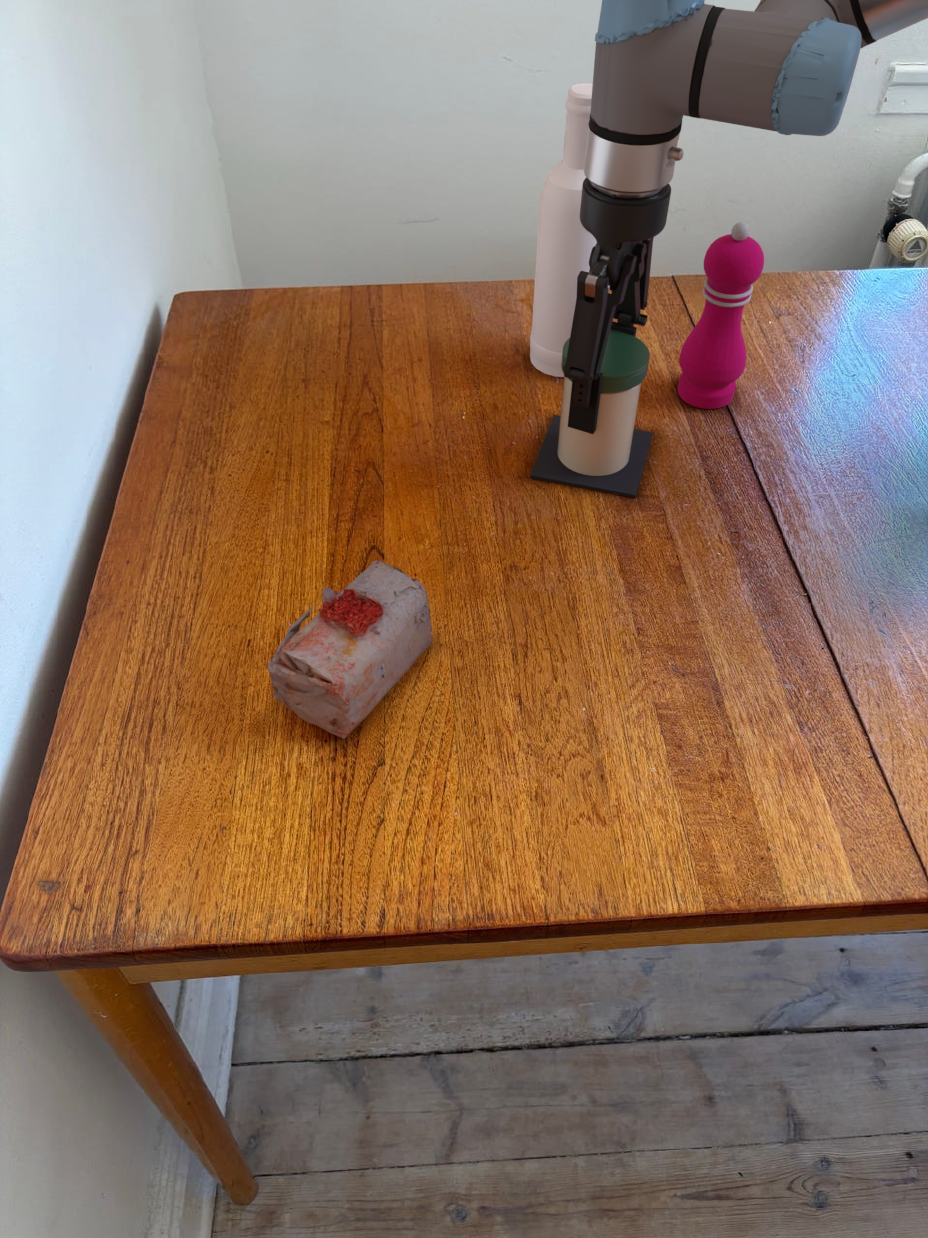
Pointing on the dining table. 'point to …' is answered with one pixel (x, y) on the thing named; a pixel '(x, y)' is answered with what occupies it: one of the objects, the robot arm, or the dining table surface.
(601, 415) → the jar
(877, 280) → the dining table surface
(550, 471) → the mat
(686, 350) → the pepper mill
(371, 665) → the food item
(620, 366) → the jar lid
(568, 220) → the bottle
